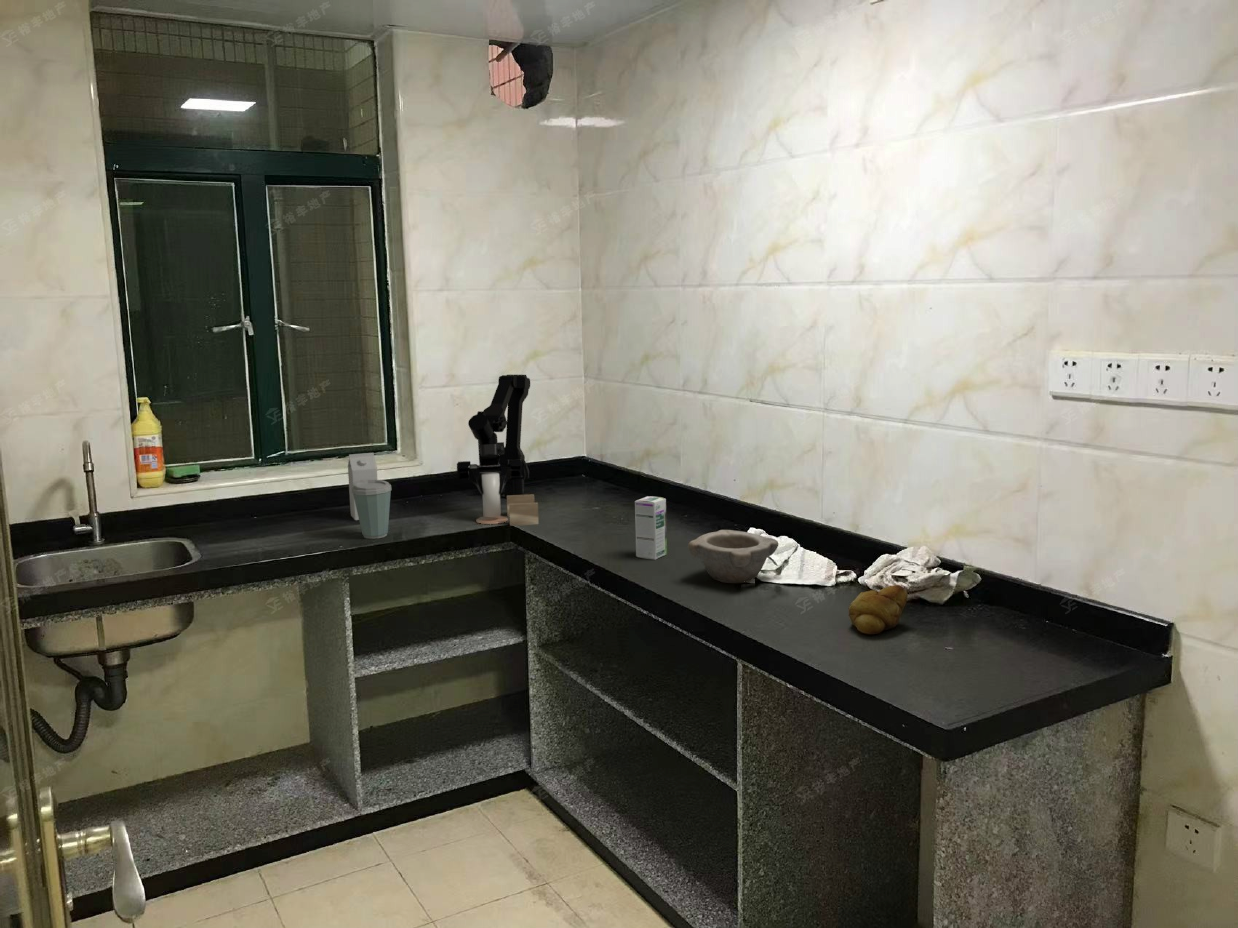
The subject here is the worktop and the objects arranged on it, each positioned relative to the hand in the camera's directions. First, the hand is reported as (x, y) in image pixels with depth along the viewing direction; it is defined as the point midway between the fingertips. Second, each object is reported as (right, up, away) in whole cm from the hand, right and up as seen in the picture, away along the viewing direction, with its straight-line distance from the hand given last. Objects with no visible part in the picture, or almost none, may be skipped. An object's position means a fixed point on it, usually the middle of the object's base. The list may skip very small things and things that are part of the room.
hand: (491, 493), depth 279 cm
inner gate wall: (+8, -7, +10) cm, 14 cm away
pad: (0, -8, +3) cm, 8 cm away
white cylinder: (0, -6, +3) cm, 7 cm away
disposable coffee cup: (-30, -11, -13) cm, 35 cm away
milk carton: (-38, -7, +10) cm, 40 cm away
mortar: (+62, -18, -56) cm, 86 cm away
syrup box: (+44, -15, -36) cm, 59 cm away
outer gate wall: (+10, -9, -1) cm, 13 cm away
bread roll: (+85, -23, -89) cm, 126 cm away
